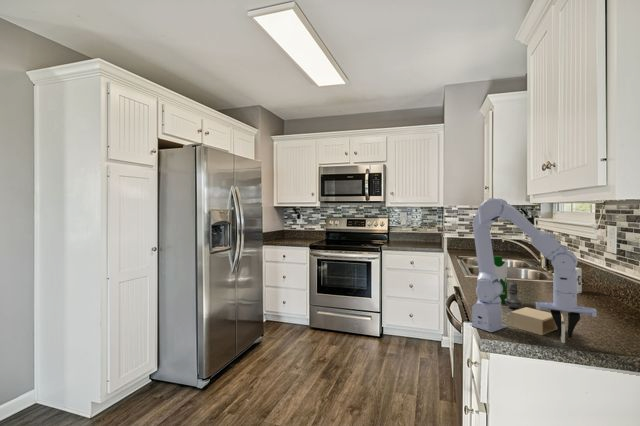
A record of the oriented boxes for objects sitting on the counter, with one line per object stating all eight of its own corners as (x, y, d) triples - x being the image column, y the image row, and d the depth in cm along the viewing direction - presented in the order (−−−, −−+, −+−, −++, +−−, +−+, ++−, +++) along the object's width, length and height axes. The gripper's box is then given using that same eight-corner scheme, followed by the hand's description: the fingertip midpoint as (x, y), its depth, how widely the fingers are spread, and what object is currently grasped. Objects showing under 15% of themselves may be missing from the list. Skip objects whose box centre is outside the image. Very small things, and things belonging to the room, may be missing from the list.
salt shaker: (513, 312, 127) (513, 281, 127) (501, 307, 133) (501, 278, 133) (525, 310, 129) (525, 280, 129) (512, 306, 135) (512, 277, 135)
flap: (564, 344, 96) (564, 324, 96) (561, 343, 97) (561, 324, 97) (562, 329, 108) (562, 312, 108) (559, 328, 109) (559, 311, 109)
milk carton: (488, 303, 140) (488, 256, 139) (480, 297, 149) (480, 254, 148) (510, 303, 139) (510, 257, 139) (500, 298, 148) (500, 254, 148)
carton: (542, 335, 104) (542, 320, 104) (510, 326, 112) (510, 311, 112) (557, 329, 109) (557, 314, 109) (526, 320, 117) (526, 307, 117)
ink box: (556, 290, 161) (556, 266, 161) (562, 289, 164) (562, 265, 164) (576, 294, 154) (576, 269, 154) (582, 292, 156) (582, 268, 156)
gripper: (593, 291, 98) (593, 336, 98) (535, 285, 105) (535, 327, 105) (598, 296, 92) (598, 344, 92) (536, 290, 99) (536, 334, 99)
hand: (564, 336), depth 98 cm, fingers closed
